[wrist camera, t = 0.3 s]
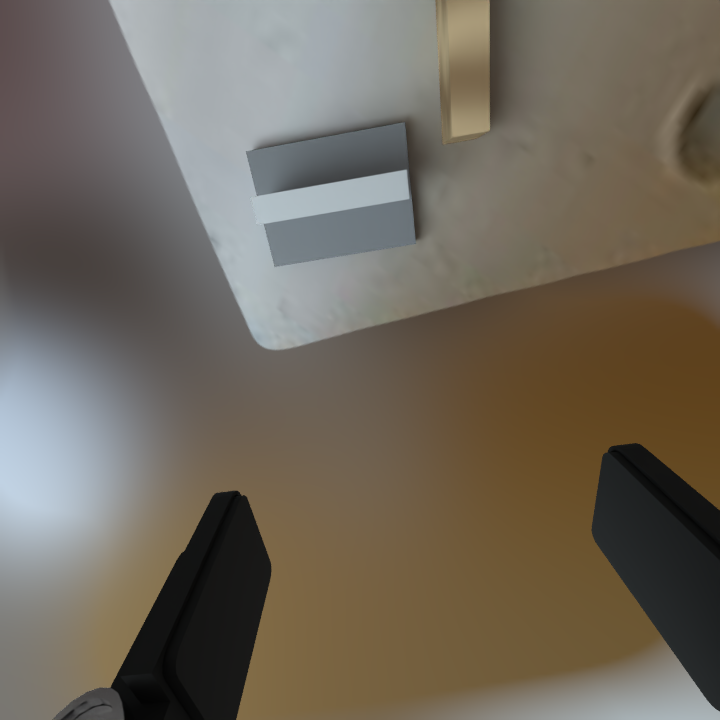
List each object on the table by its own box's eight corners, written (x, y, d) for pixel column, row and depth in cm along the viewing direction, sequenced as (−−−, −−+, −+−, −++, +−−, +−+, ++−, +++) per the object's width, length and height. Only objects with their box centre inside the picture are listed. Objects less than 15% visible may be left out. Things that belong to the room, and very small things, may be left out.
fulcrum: (250, 154, 32) (221, 139, 25) (402, 125, 31) (415, 102, 24) (277, 264, 36) (258, 277, 29) (413, 242, 35) (426, 250, 28)
